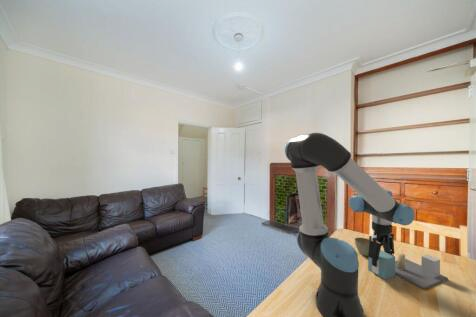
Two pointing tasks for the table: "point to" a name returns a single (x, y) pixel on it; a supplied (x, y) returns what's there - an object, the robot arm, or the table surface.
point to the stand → (420, 271)
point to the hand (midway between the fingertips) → (381, 270)
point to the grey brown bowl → (362, 245)
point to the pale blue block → (384, 265)
